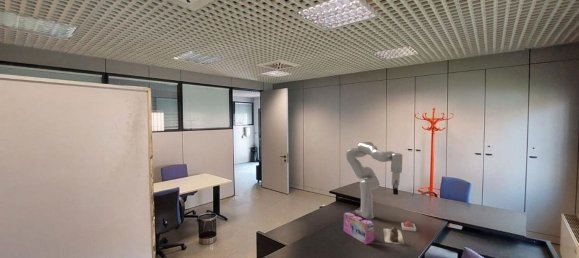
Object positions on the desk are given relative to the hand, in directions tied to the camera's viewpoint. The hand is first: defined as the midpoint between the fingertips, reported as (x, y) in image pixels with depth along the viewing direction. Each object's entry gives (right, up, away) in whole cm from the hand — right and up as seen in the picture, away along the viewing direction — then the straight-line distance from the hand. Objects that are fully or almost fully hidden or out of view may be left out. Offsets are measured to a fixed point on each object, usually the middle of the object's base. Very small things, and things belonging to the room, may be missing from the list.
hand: (395, 192), depth 189 cm
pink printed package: (-31, -28, -12) cm, 43 cm away
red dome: (+10, -27, -1) cm, 28 cm away
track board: (-7, -28, -13) cm, 32 cm away
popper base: (+10, -27, -1) cm, 29 cm away
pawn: (-9, -27, -20) cm, 35 cm away
